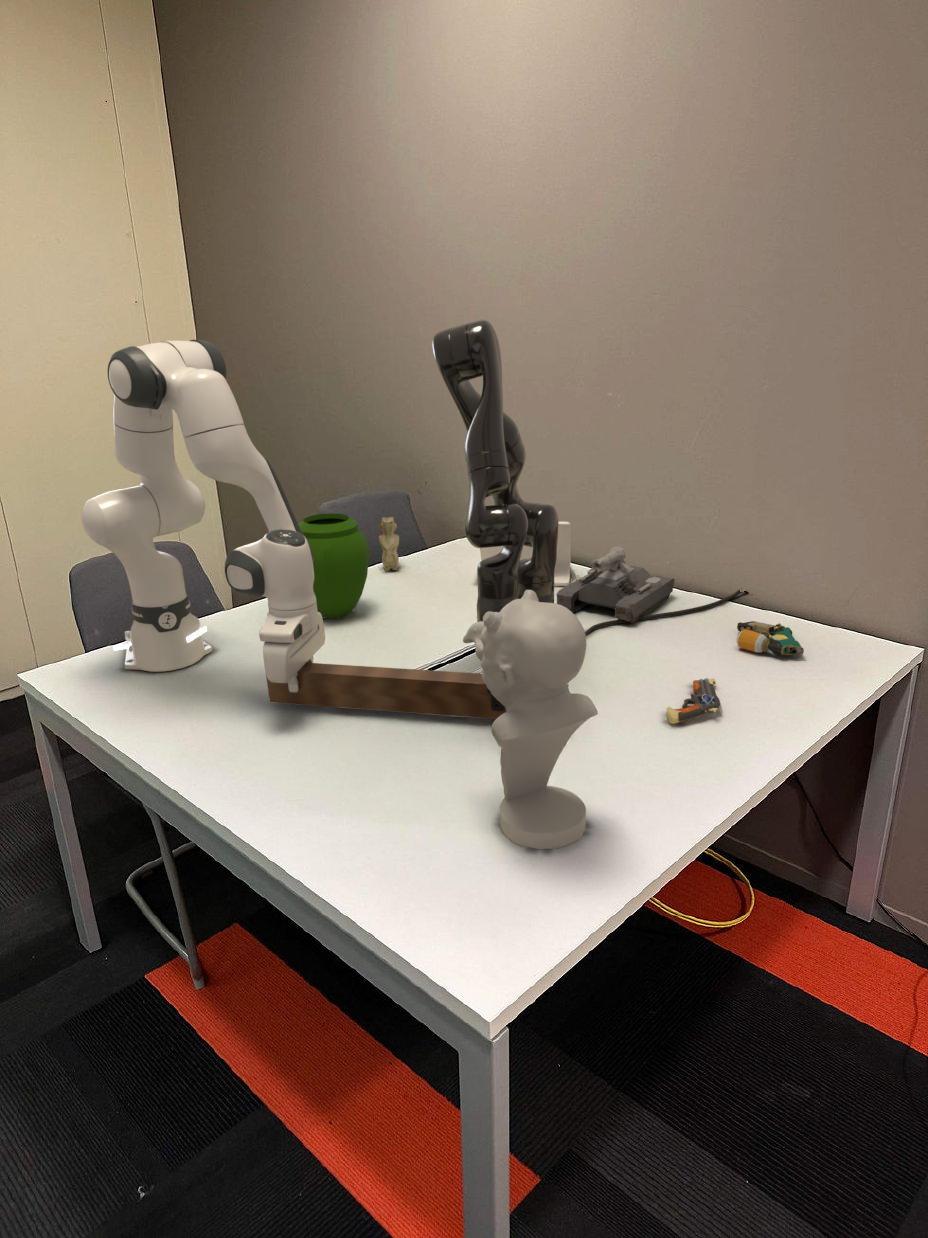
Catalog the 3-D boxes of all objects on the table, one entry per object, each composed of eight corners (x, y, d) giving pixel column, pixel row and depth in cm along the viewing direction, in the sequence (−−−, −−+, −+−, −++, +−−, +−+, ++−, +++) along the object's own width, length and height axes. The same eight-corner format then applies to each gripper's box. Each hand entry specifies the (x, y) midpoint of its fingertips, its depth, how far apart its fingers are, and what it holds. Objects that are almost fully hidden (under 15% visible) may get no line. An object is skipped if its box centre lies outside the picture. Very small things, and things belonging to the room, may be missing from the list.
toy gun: (667, 713, 153) (725, 711, 151) (663, 676, 171) (714, 673, 169) (668, 727, 154) (725, 725, 151) (664, 689, 171) (715, 686, 169)
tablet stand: (569, 585, 229) (570, 524, 223) (476, 584, 232) (475, 523, 226) (570, 566, 246) (571, 508, 240) (484, 564, 249) (483, 507, 243)
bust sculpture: (526, 759, 144) (526, 560, 132) (615, 831, 124) (624, 605, 112) (442, 785, 137) (433, 578, 125) (521, 866, 117) (520, 629, 105)
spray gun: (738, 629, 198) (807, 640, 192) (727, 651, 184) (801, 664, 178) (740, 612, 197) (810, 622, 191) (729, 633, 182) (804, 645, 176)
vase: (389, 608, 216) (383, 514, 208) (339, 633, 201) (330, 533, 192) (330, 596, 226) (322, 506, 218) (278, 619, 211) (267, 523, 202)
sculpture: (401, 564, 252) (398, 514, 246) (400, 571, 245) (397, 520, 240) (381, 565, 251) (378, 515, 246) (380, 572, 245) (377, 521, 239)
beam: (533, 710, 158) (533, 676, 155) (530, 721, 154) (530, 686, 151) (278, 692, 168) (274, 660, 166) (269, 702, 164) (265, 669, 162)
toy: (603, 584, 229) (605, 530, 224) (673, 597, 218) (677, 540, 213) (555, 612, 210) (556, 553, 205) (630, 627, 199) (633, 566, 194)
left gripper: (300, 598, 169) (306, 661, 174) (254, 636, 150) (262, 706, 155) (329, 599, 168) (335, 664, 173) (287, 638, 149) (295, 709, 154)
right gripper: (485, 602, 157) (487, 686, 163) (468, 630, 144) (472, 720, 150) (525, 604, 156) (526, 688, 162) (512, 632, 143) (514, 724, 149)
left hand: (300, 684), depth 164 cm, fingers closed on beam, 4 cm apart
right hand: (500, 703), depth 156 cm, fingers closed on beam, 4 cm apart
